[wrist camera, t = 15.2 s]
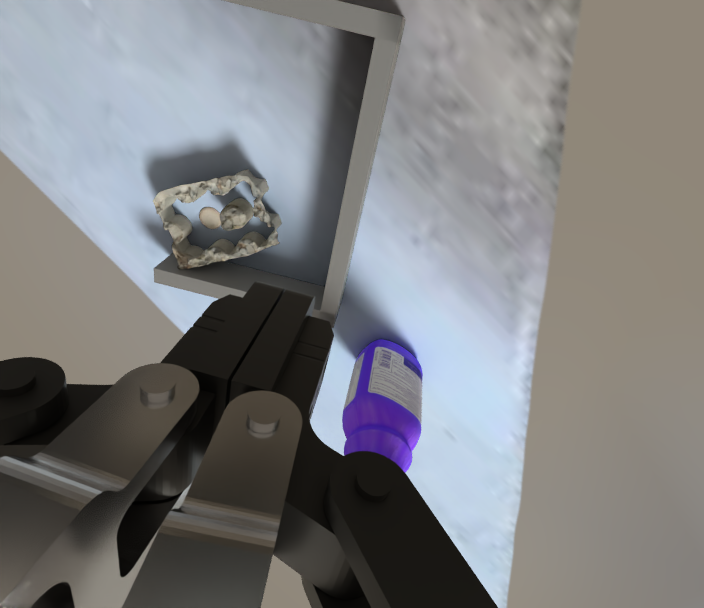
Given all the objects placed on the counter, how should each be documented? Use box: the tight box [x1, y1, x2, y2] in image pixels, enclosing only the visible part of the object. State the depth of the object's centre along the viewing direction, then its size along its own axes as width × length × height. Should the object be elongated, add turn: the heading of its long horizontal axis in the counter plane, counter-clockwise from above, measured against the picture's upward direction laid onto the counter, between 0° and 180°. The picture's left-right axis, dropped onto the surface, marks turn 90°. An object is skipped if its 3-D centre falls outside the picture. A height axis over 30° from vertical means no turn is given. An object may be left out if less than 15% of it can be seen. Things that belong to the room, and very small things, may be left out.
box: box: [154, 0, 405, 328], centre depth 37 cm, size 25×18×4 cm
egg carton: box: [153, 169, 282, 269], centre depth 40 cm, size 11×8×4 cm
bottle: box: [342, 339, 423, 472], centre depth 40 cm, size 7×6×17 cm
